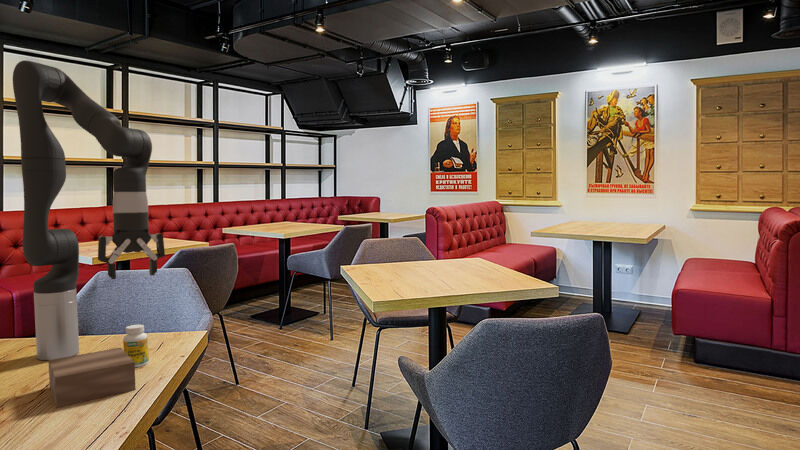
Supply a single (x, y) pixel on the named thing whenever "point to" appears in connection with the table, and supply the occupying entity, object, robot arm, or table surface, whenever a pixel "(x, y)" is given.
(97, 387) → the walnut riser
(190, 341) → the table surface
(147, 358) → the supplement bottle
